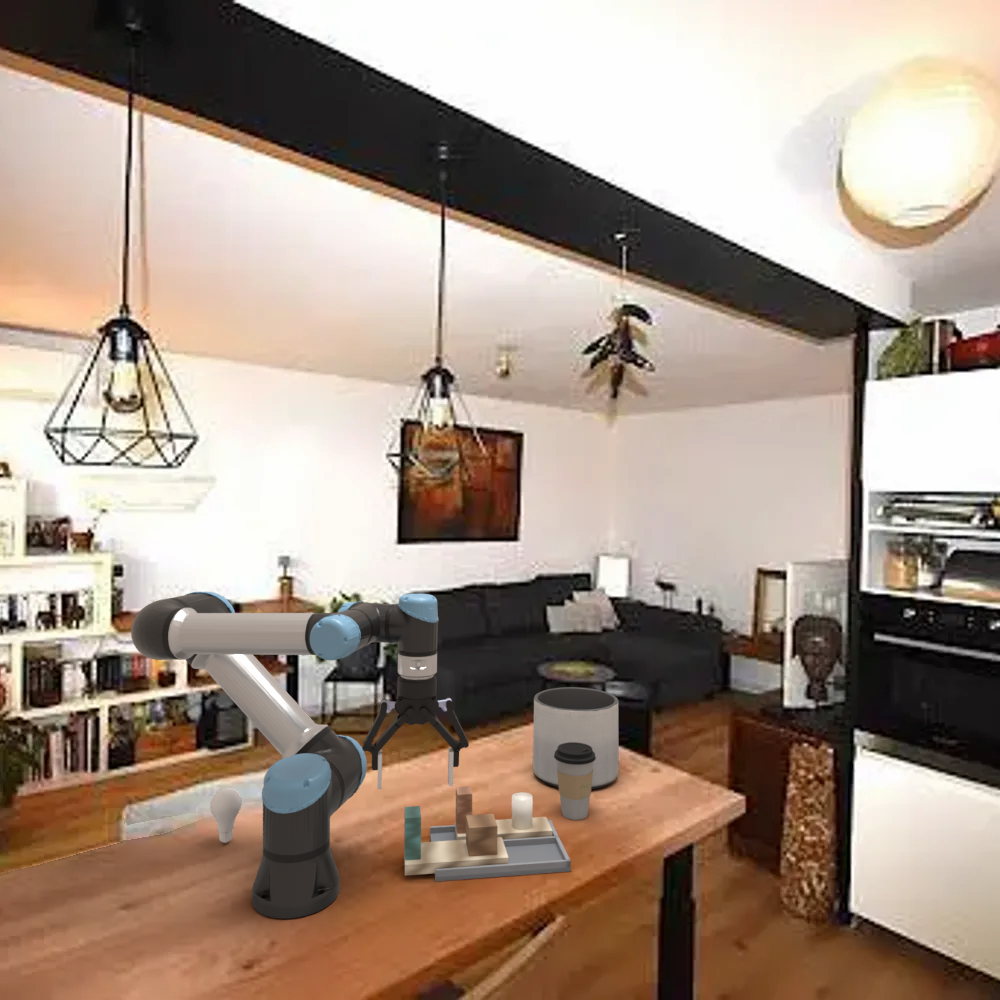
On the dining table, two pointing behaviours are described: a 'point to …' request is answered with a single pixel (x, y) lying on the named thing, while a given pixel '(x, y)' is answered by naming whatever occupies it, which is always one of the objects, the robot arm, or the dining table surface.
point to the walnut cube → (481, 835)
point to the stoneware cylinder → (522, 811)
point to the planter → (576, 730)
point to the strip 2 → (504, 826)
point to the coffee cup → (574, 778)
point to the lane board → (510, 857)
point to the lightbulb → (225, 811)
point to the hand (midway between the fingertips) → (415, 784)
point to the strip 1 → (440, 850)
